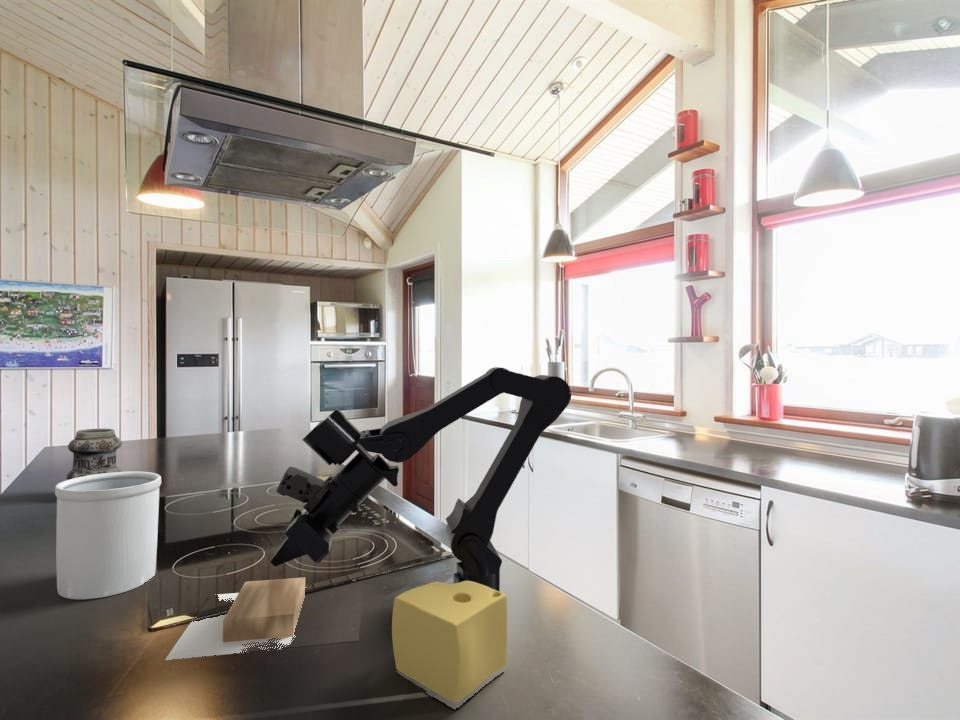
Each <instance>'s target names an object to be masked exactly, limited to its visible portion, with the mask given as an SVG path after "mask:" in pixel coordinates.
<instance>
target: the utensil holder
mask: <svg viewBox="0 0 960 720" xmlns="http://www.w3.org/2000/svg"><path fill="white" fill-rule="evenodd" d="M161 485H162V476H161V475H160V474H158V473H156V472H151V471H139V470H138V471H136V470H135V471H133V470H132V471H121V472H112V473H102V474H94V475H88V476H82V477H77V478H73V479H69V480H67V479H66V480H64V481H61V482H58V483H57V484H55V487H54V495H55V497H56V530H55V532H56V535H55V537H56V539H55V540H56V542H55V543H56V544H55V545H56V546H55V547H56V551H55V552H56V553H55V554H56V555H55V560H56V563H55V564H56V565H55V566H56V567H55V568H56V590H57V594H58V595H59V596H60V597H62V598H65V599H69V600H92V599H93V600H94V599H100V598H106V597H112V596H115V595H119V594H123V593H126V592H130V591H131V590H134V589H136V588H139V587H141V586H143V585H145V584H146V583H145V582H147V581H148V580H149V579H151V578H152V577H153V576H154V577H155V575H156V565H157V555H158V554H157V553H158V552H157V551H158V550H157V549H158V533H159V532H158V531H159V529H158V528H159V512H160V511H159V510H160V509H159V507H160V487H161ZM154 577H153V578H154ZM153 578H152V579H153ZM152 579H151V580H152ZM149 581H150V580H149ZM149 581H148V582H149ZM148 582H147V583H148ZM144 583H145V584H144Z"/></svg>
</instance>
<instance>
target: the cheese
mask: <svg viewBox="0 0 960 720" xmlns="http://www.w3.org/2000/svg"><path fill="white" fill-rule="evenodd" d="M507 599H508V598H507V594H505V593H503V592H501V591H500V592H499V591H497V590H494V589H492V588H490V587H487V586H485V585H482V584H479V583H476V582H472V581H462V582H459V583H454V584H453V583H445V582H442V581H432V582H429V583H426V584H423V585H421V586H417V587H414V588H412V589H409V590H407V591H404V592H402V593H401V594H398V595H397V596H395V597H394V600H393V606H392V617H391V638H392V647H393V649H392V650H393V656H394V661H395V662H394V663H395V669H397V670H399V671H400V672H402V673H404V674H405V675H406V676H409V677H410V678H412V679H414V680H416V681H417V682H419V683H421V684H422V685H424V686H426V687H427V688H429V689H430V690H432V691H434V692H436V693H438V694H439V695H441V696H443V697H445V698H447V699H449V700H451V701H452V702H454V703H457V702H459V701H460V700H462V699H463V698H464V697H466V696H467V695H468V694H469V693H471V692H472V691H473V690H474V689H475V688H476V687H478V685H479V684H481V683H482V682H483V681H484V680H485V679H487V678H488V677H489V676H491V675H492V674H493V673H495V672H496V671H498V670H499V669H500V668H502V667H503V666H505V665H506V666H507V658H508V657H507V654H508V653H507V652H508V651H507V650H508V600H507ZM397 670H396V671H397Z"/></svg>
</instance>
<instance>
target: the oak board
mask: <svg viewBox="0 0 960 720" xmlns="http://www.w3.org/2000/svg"><path fill="white" fill-rule="evenodd" d="M305 588H306V577H305V576H304V577H292V578H276V579H275V578H274V579H265V580H250V581H249V580H248V581H245V582H244V584H243V585H242V587H241V588H240V590H239V592H238V593H239V594H238V595H237V597H236V599H235V600H234V602H233V604H232V606H231V607H230V609H229V611H228V613H227V614H226V616H225V618H224V619H223V642H233V641H244V640H254V639H265V638H276V637H287V636H294V632H295V628H296V625H297V622H298V618H299V615H300V611H301V608H302V604H303V601H304V598H305Z"/></svg>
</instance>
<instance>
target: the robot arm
mask: <svg viewBox="0 0 960 720" xmlns="http://www.w3.org/2000/svg"><path fill="white" fill-rule="evenodd" d="M502 394H507V395H511V396H515V397H518V398H521V399H520V402H519V403H520V404H519V408H518V413H517V418H516V421H515V422H514V424H513V426H512V428H511V430H510V432H509V433H508V435H507V437H506V438H505V440H504V442H503V444H502V445H501V447H500V449H499V450H498V453H497V455H496V456H495V457H494V460H493V461H492V463H491V465H490V467H489V468H488V469H487V472H486V473H485V475H484V477H483V479H482V481H481V482H480V484H479V486H478V488H477V489H476V492H475V493H474V494H473V495H472V496H471V497H470V498H469V499H468V500H466V501H465V502H464V501H463V500H461V498H457V499H456V502H455V505H454V507H453V510H452V511H451V513H450V514H449V515H448V516H447V517H446V518H445V520H446V524H447V525H446V527H445V535H446V539H447V542H448V545H449V547H450V550H451V553H452V555H453V556H454V557H455V559H457V560H458V562H456V572H455V573H453V581H452V582H453V583H452V584H454V583H459V582H462V581H472V582H476V583H479V584H482V585H485V586H487V587H490V588H492V589H494V590H497V591H499V592H501V589H500V588H501V587H500V586H501V584H500V583H501V580H500V578H501V573H500V572H501V566H502V563H503V559H502V558H501V556H500V554H499V553H498V551H497V550H496V547H495V546H494V545H493V543H492V541H491V539H492V536H493V534H494V530H495V526H496V525H495V524H496V520H497V515H498V510H499V509H500V507H501V506H502V504H503V502H504V500H505V498H506V496H507V494H508V493H509V491H510V489H511V487H512V486H513V484H514V482H515V480H516V478H517V476H518V475H519V473H520V471H521V470H522V468H523V466H524V464H525V463H526V461H527V459H528V457H529V455H530V454H531V452H532V450H533V448H534V447H535V445H536V443H537V441H538V439H539V437H540V436H541V435H542V433H543V432H544V431H545V430H546V429H548V428H549V427H550V426H551V425H552V424H553V423H554V422H556V421H557V419H558V418H559V417H560V416H561V415H562V413H563V412H564V411H565V409H566V408H567V407H568V406H569V405H570V403H571V399H572V392H571V388H570V385H569V384H568V382H567V381H566V380H564V379H563V378H562V377H559V376H554V375H548V374H545V375H544V374H538V375H535V376H531V375H527V374H523V373H518V372H515V371H512V370H509V369H508V368H504V367H498V366H497V367H496V366H494V367H492V368H489V369H487V371H486V372H485V373H484V374H482V375H481V376H479V377H476V378H475V379H474V380H472V381H470V382H468V383H467V384H465V385H464V386H462V387H460V388H459V389H457V390H455V391H454V392H452V393H450V394H448V395H447V396H445V397H443V398H442V399H440V400H438V401H437V402H435V403H433V404H432V405H429V406H428V407H427V408H423V409H421V410H418V411H415V412H411V413H408V414H406V415H405V414H404V415H403V416H400V417H398V418H395V419H392V420H389V421H388V422H386V423H385V424H384V425H383V426H382V427H380V428H374V429H373V428H372V429H366V430H361V431H360V430H359V429H358V428H357V427H356V426H354V425H353V423H352V422H351V421H349V420H348V418H347V417H346V416H345V414H344V412H342V411H341V410H340V409H339V408H336V409H335V410H333V411H332V413H330V414H329V415H327V417H326V418H324V420H321V421H319V423H318V424H316V426H314V427H313V428H312V429H311V430H310V432H308V433H307V434H306V435H305V436H304V437H303V438H302V441H303V442H304V443H305V444H306V445H307V446H308V447H309V449H311V450H312V451H313V452H314V453H315V454H316V455H317V456H318V457H320V458H321V460H323V462H325V463H326V464H327V465H328V466H330V465H332V464H333V465H335V466H336V465H338V466H342V465H343V464H344V463H345V462H346V461H347V460H348V459H349V458H350V457H351V456H352V455H353V454H354V453H355V452H357V453H356V455H355V456H354V457H352V458H351V459H350V461H348V463H347V464H345V465H344V466H343V467H342V468H341V470H339V471H338V472H337V473H336V474H333V475H331V474H330V475H329V476H328V477H327V478H326V479H325V480H324V479H321V478H319V477H318V476H315V475H313V474H311V473H308V472H306V471H304V470H302V469H299V468H297V467H295V466H288V468H287V469H286V470H285V472H284V473H283V476H282V478H281V480H280V482H279V484H278V486H277V488H276V493H277V494H279V495H281V496H282V497H285V496H287V497H289V498H291V499H294V500H296V501H299V502H301V503H303V504H304V505H303V507H302V508H303V510H302V511H301V510H300V509H298V508H297V509H296V510H295V511H294V513H293V516H292V517H291V518H290V521H289V525H288V526H287V528H286V530H285V532H284V534H285V536H286V538H285V539H284V540H283V542H282V543H281V545H280V546H279V548H278V549H277V551H276V552H275V553H274V555H273V556H272V558H271V560H270V564H271V565H272V566H273V567H278V566H281V565H282V564H283V565H284V564H286V563H288V562H290V561H293V560H295V559H298V558H301V557H303V556H307V557H309V559H310V560H312V561H313V562H314V563H317V564H320V563H321V562H323V560H324V559H325V558H326V557H327V556H328V555H329V554H330V550H331V547H332V535H335V533H336V532H338V531H339V528H340V525H341V524H342V522H343V521H345V520H346V518H348V516H349V515H351V513H353V514H355V513H356V512H357V511H358V510H359V509H360V505H361V504H362V503H363V501H365V499H366V498H367V497H368V496H370V495H371V493H372V492H374V491H375V489H377V488H378V487H379V486H380V485H381V484H382V483H383V482H384V481H385V480H386V481H387V482H389V484H390V485H392V487H398V485H399V483H398V474H399V471H400V467H399V465H397V464H399V463H403V462H406V461H408V460H410V459H411V458H412V457H413V456H414V455H416V454H417V453H418V452H419V451H420V450H421V449H423V448H424V447H425V446H426V445H427V444H428V443H429V442H430V440H431V439H433V437H434V436H435V435H437V434H438V433H439V432H440V431H442V430H443V429H444V428H446V427H448V426H450V425H451V424H453V423H454V422H457V421H459V419H461V418H463V417H464V416H467V414H469V413H471V412H473V411H474V410H476V409H477V408H479V407H481V406H483V405H484V404H486V403H487V402H490V401H491V400H492V399H494V398H496V397H497V396H500V395H502ZM371 453H373V454H374V455H372V454H371ZM381 455H382V456H383V457H382V456H381ZM386 460H387V461H386ZM388 461H389V462H392V463H396V464H395V465H390V464H389V463H388ZM327 530H328V531H329V532H330V533H332V534H330V533H329V532H328V531H327Z"/></svg>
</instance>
